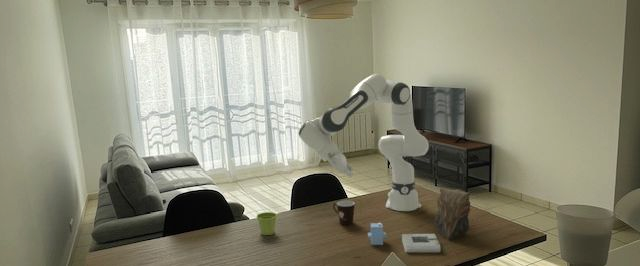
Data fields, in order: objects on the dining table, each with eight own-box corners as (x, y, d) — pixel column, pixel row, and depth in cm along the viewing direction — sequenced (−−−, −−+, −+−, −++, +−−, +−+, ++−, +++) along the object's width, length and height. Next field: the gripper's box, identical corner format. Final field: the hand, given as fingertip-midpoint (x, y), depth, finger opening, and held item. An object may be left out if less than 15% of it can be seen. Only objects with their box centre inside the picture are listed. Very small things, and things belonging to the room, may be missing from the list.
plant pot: (265, 228, 213) (264, 210, 212) (281, 231, 208) (280, 213, 207) (253, 234, 205) (252, 217, 204) (269, 238, 200) (268, 220, 199)
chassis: (402, 240, 193) (402, 234, 192) (434, 240, 192) (434, 233, 191) (405, 252, 181) (405, 245, 180) (440, 252, 180) (440, 245, 179)
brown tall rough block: (433, 230, 203) (434, 188, 200) (458, 227, 206) (459, 185, 202) (446, 240, 191) (447, 196, 188) (473, 237, 193) (474, 193, 190)
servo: (367, 240, 194) (367, 221, 192) (385, 240, 193) (385, 221, 192) (368, 244, 189) (368, 225, 188) (386, 244, 189) (386, 225, 188)
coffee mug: (358, 224, 213) (357, 204, 212) (341, 227, 210) (341, 207, 208) (347, 217, 224) (347, 198, 222) (332, 219, 221) (331, 200, 219)
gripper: (333, 151, 181) (357, 174, 182) (334, 142, 202) (356, 163, 202) (322, 162, 182) (346, 184, 183) (324, 152, 202) (346, 172, 203)
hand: (351, 173), depth 193 cm, fingers open, 8 cm apart
